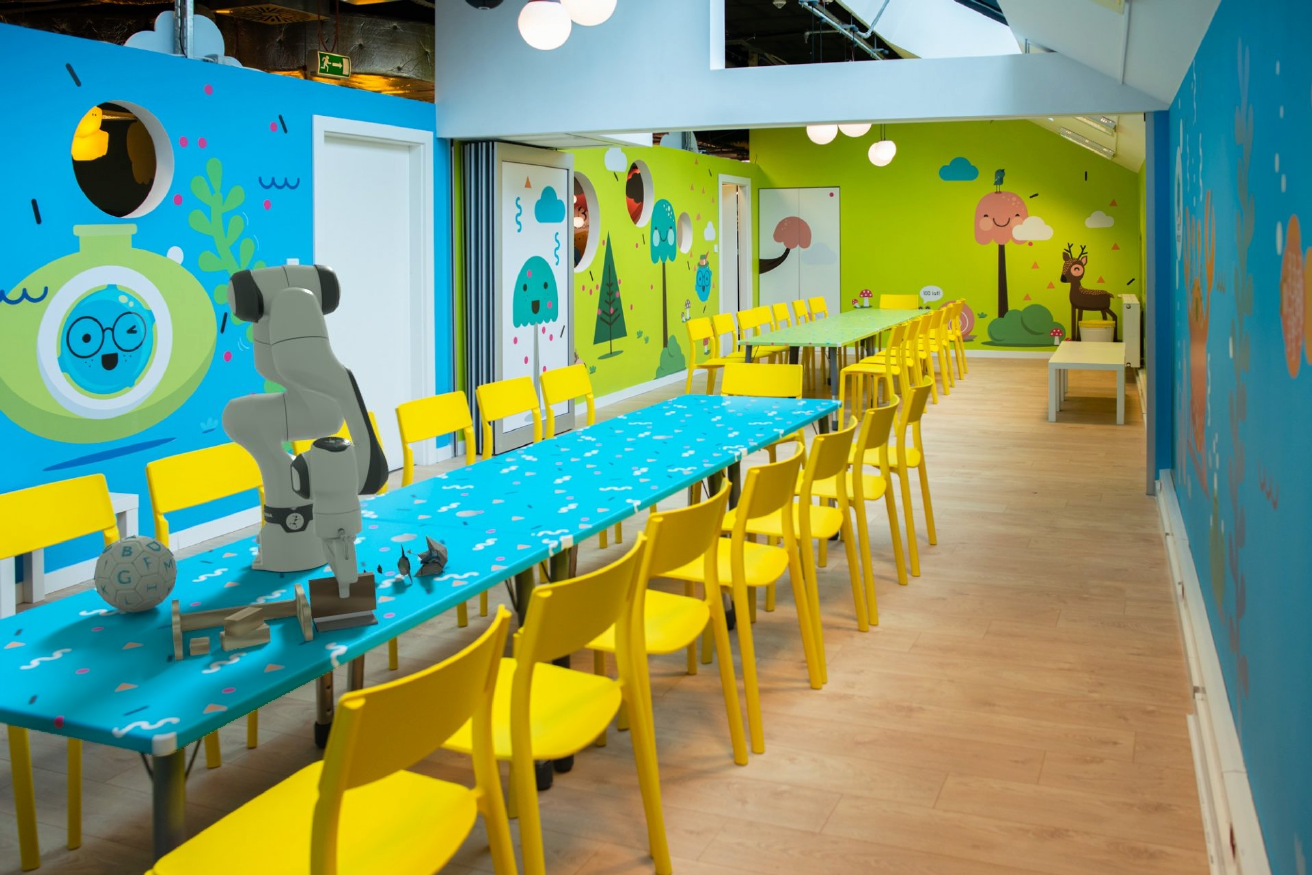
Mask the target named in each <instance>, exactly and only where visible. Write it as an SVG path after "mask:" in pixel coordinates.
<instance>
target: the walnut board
mask: <svg viewBox="0 0 1312 875" xmlns="http://www.w3.org/2000/svg"><path fill="white" fill-rule="evenodd" d="M375 576H376V575H375V573H374V571H366V572H365V573H363V572H358V581H357V582H355V583H350V585H349V597H347V598H340V596H339V590H338V587H339V586H338V582H337V580H336V578H335V576H334V575H333V576H329V577H322V578H321V577H320V578H313V579H308V580H307V581H308V594H309V595H308V596H309V605H310V608H311V619H312V620H313V619H314V618H321V617H328V616H335V615H342V614H349V613H356V612H363V611H370V610H372V611H376V610H378V609H377V608H378V607H377V593H376V592H377V591H376V590H377V589H376V577H375Z"/></svg>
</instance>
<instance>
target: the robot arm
mask: <svg viewBox="0 0 1312 875" xmlns="http://www.w3.org/2000/svg"><path fill="white" fill-rule="evenodd" d="M341 287H342V286H341V284H340V281H339V278H338V275H337V274H336V272H335V271H334V270H333V268H331V266H327V265H325V264H316V263H315V264H312V265H306V264H282V265H279V266H269V267H263V268H255V269H252V270H251V269H250V268H247V269H242V270H239V271H236V272H234V273H233V274H232V275H231V276H230V278H229V281H228V286H227V288H226V289H227V290H226V298H227V303H228V306H229V308H230V310H231V312H232V314H233V315H234V316H235V317H236V318H237V319H239V320H240V321H242V322H247V323H252V324H251V326H252V341H253V342H252V343H253V345H252V346H253V358H254V360H253V362H254V367H255V370H256V371H257V373H258V374H259V375H260V376H261V377H262V378H263V379H265V380H267V381H269V382H272V383H273V384H277V385H279V386H281V387H283V388H284V389H285V391H282V392H269V393H267V392H266V393H255V394H253V393H252V394H247V395H244V396H239V397H236V398H232V399H230V400H229V401H228V403H226V405H225V407H224V409H223V412H222V414H221V422H222V428H223V430H224V432H225V434H226V436H227V437H228V438H229V439H230V440H231V441H232V442H233V443H235V444H237V445H238V446H240V447H242V449H244V450H245V451H247V452H248V454H249V455H250V456H252V458H253V460H254V461H255V462H256V464H257V466H258V469H259V471H260V475H261V481H262V486H263V487H262V488H263V494H264V505H263V511H262V514H263V520H264V521H265V523H264V526H263V527H261V528H260V530H259V532H258V533H257V534H256V535H255V537H256V538H255V539H256V544H257V545H259V547H257V550H258V551H257V554H256V556H255V557H254V559H253V561H252V564H251V569H252V570H265V571H270V572H277V573H278V572H280V573H281V572H282V573H283V572H285V573H286V572H287V573H288V572H297V571H298V572H299V571H304V570H305V571H307V570H311V569H315V568H318V567H320V566H324V565H326V564H328V566H329V567H330V570H331V572H332V575H333V577H334V576H335V578H336V580H337V582H338V586H339V587H338V590H339V596H340V598H347V597H349V585H350V583H355V582H357V581H358V573H359V572H358V571H359V570H358V562H357V551H356V545H355V542H356V540H357V535H358V534H361V532H363V519H362V518H363V517H362V505H361V500H359V499H360V498H359V496H367V495H368V496H369V495H370V496H371V495H376V494H377V493H379V491H381V489H382V488H384V486H385V485H386V483H387V481H388V480H389V477H390V476H389V475H390V471H389V464H388V461H387V458H386V456H385V455H386V454H385V453H384V451H383V448H382V446H381V444H380V442H379V441H378V440H379V439H378V437H377V436H376V433H375V430H374V426H373V424H372V420H371V418H370V415H369V412H368V410H367V406H366V403H365V400H364V398H363V394H362V393H361V389H360V387H359V384H358V381H357V380H356V377H355V375H354V373H353V371H352V370H351V368H350V367H348V366H346V365H344V364H342V363H341V362H340V361H339V360H338V358H337V357H336V354H334V352H333V349H332V346H331V342H330V338H329V332H328V328H327V323H326V320H325V316H326V315H329V314H332V313H334V312H335V311H336V309H337V308H338V307H339V305H340V300H341V294H342V291H341V290H342V288H341ZM344 423H345V424H346V428H347V429H348V433H349V436H350V438H351V440H350V439H348V438H346V437H340V436H334V435H336V434H338V433H339V432H340V430H342V427H343V426H344ZM311 440H312V441H313V440H314V441H313V442H311V444H310V449H308V450H306V451H303V452H299V454H297V455H294V454H291V453H289V452H287V450H285V449H284V447H283V445H284V444H285V443H287V442H297V441H298V442H299V441H311Z"/></svg>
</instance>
